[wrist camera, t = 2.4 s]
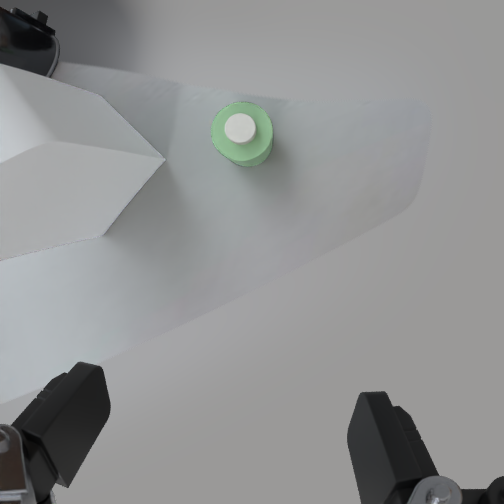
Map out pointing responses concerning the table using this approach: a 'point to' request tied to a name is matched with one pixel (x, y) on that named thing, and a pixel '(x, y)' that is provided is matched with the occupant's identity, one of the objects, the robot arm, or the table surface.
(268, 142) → the soap bottle
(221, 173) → the table surface
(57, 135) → the milk
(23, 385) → the table surface
